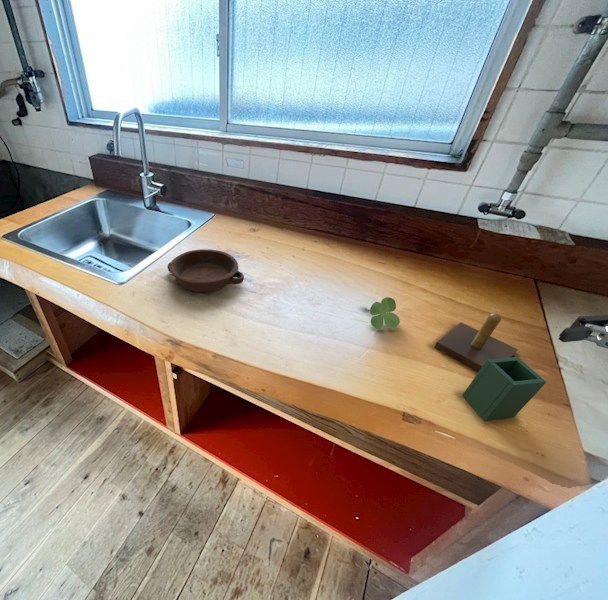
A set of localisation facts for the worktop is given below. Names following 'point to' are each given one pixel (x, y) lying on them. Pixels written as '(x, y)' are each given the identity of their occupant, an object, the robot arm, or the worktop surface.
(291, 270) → the worktop surface
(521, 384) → the sleeve
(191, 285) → the dish
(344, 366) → the worktop surface
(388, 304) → the green leafy piece
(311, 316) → the worktop surface
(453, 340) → the brown peg stand
